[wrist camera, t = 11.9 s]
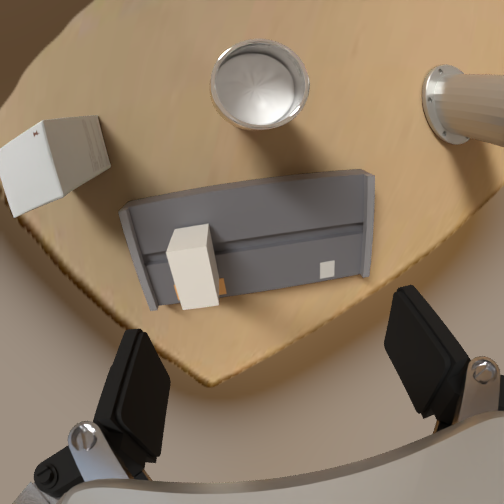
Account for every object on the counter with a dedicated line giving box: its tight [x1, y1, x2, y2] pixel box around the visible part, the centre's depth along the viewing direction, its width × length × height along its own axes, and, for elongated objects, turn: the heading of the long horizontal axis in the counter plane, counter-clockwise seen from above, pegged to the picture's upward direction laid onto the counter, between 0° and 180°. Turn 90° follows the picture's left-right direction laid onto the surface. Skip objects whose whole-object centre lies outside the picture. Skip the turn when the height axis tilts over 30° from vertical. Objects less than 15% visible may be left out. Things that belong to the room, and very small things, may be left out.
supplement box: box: [0, 115, 111, 218], centre depth 24 cm, size 7×7×13 cm
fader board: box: [118, 169, 375, 311], centre depth 35 cm, size 30×14×4 cm, turn 97°
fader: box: [166, 224, 219, 310], centre depth 32 cm, size 4×7×7 cm, turn 7°
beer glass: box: [210, 39, 310, 131], centre depth 23 cm, size 7×7×15 cm
